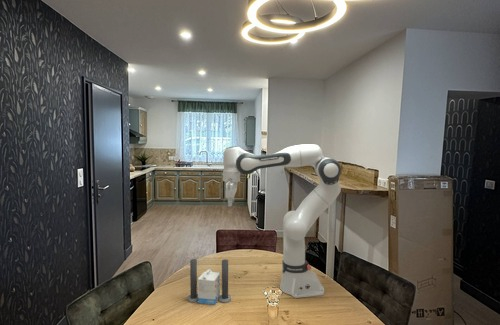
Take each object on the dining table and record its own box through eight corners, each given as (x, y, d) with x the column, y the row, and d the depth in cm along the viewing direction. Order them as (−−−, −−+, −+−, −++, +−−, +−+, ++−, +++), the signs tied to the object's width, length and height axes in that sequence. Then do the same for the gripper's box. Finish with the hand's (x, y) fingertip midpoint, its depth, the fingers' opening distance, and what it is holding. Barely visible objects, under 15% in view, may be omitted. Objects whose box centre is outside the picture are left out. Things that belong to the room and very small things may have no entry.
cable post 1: (201, 295, 134) (201, 257, 132) (198, 302, 128) (198, 263, 126) (188, 295, 134) (188, 257, 132) (185, 302, 128) (185, 263, 126)
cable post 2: (231, 296, 133) (231, 258, 132) (230, 303, 127) (230, 263, 126) (219, 295, 133) (219, 258, 132) (217, 302, 127) (217, 263, 126)
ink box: (214, 305, 125) (214, 277, 125) (197, 303, 127) (197, 275, 126) (220, 295, 134) (220, 269, 133) (204, 293, 136) (204, 267, 135)
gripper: (235, 180, 130) (235, 208, 131) (239, 175, 151) (238, 200, 152) (222, 180, 131) (222, 208, 132) (227, 175, 151) (227, 200, 152)
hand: (231, 204), depth 142 cm, fingers open, 8 cm apart
